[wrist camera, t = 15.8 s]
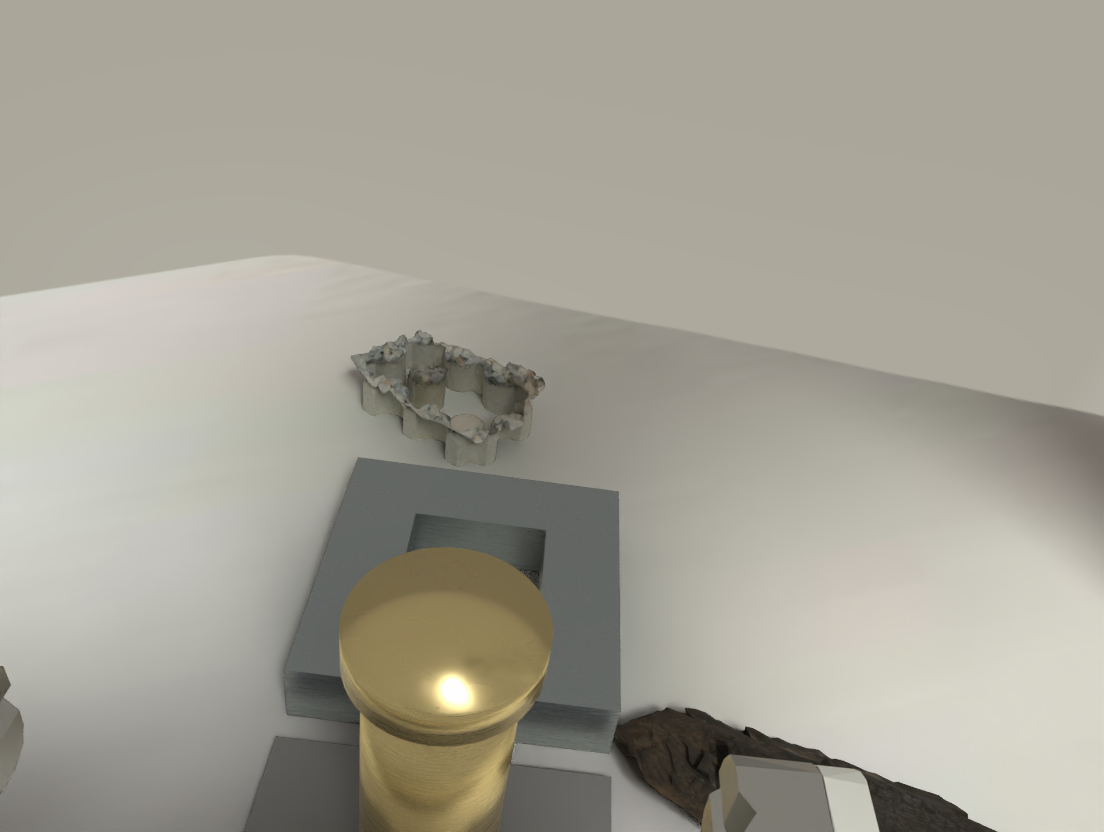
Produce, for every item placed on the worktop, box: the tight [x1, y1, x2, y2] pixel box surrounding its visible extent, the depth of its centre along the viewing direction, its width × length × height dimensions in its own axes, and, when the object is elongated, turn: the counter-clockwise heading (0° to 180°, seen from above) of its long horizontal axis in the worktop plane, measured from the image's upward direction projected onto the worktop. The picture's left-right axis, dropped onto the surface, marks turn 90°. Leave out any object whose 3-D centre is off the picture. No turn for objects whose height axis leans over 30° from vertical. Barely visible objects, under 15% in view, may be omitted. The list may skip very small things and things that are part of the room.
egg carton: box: [351, 330, 545, 466], centre depth 58 cm, size 11×8×4 cm
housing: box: [284, 457, 621, 754], centre depth 45 cm, size 14×14×3 cm
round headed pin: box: [339, 547, 553, 832], centre depth 31 cm, size 6×6×14 cm
